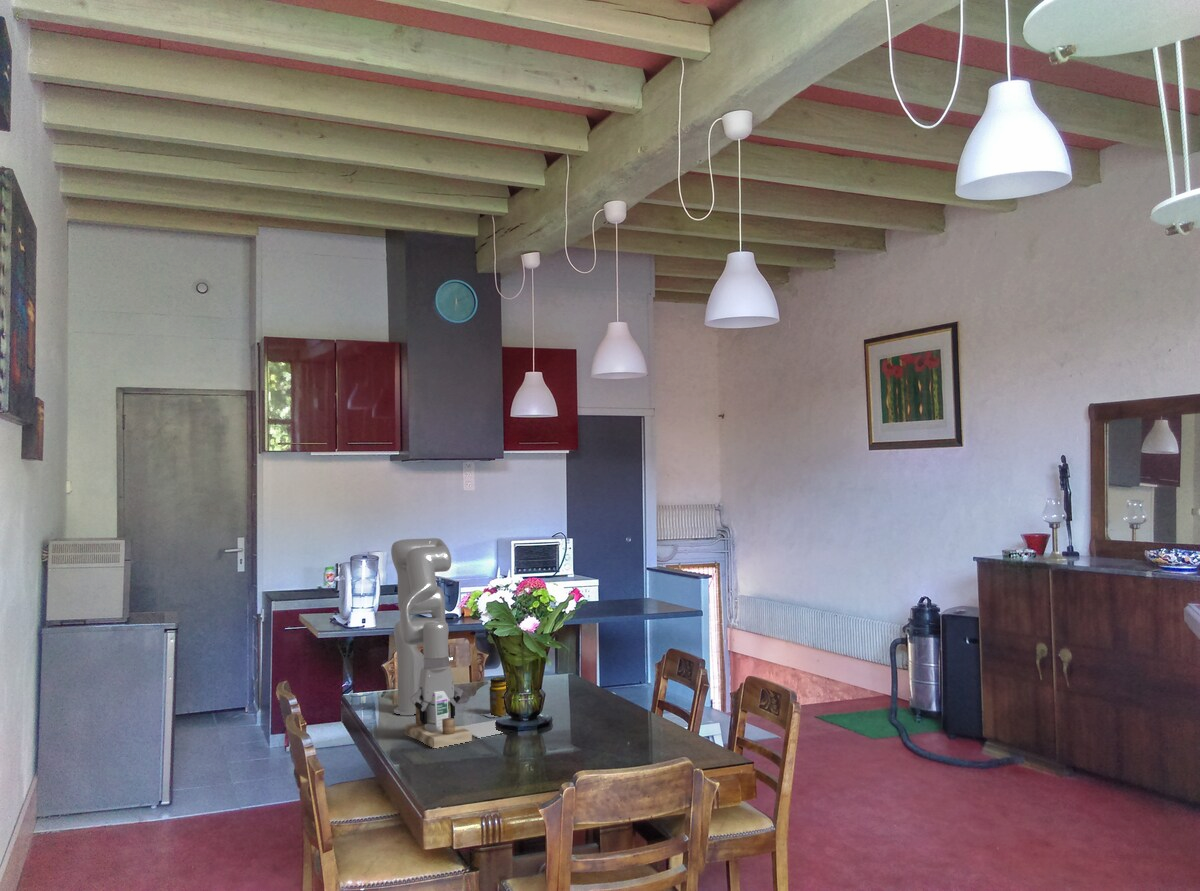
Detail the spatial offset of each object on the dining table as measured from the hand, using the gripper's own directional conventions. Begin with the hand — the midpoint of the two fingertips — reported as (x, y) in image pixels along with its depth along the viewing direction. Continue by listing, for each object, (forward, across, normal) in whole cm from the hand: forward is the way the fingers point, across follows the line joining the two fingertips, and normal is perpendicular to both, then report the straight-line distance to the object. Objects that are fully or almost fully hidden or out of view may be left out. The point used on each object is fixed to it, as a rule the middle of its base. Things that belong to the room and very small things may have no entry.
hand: (437, 721), depth 284 cm
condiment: (+5, -28, -16) cm, 33 cm away
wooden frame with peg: (+5, 0, 0) cm, 5 cm away
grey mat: (+5, -17, +1) cm, 18 cm away
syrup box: (+5, 0, 0) cm, 5 cm away
